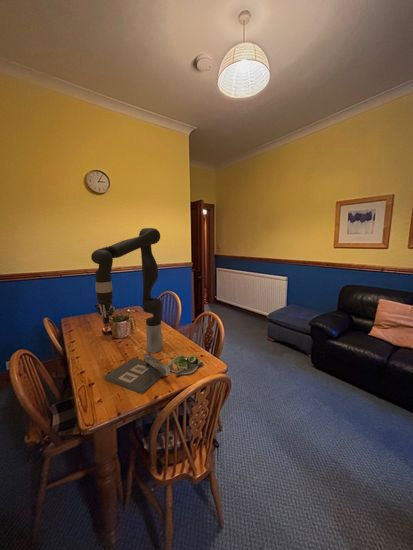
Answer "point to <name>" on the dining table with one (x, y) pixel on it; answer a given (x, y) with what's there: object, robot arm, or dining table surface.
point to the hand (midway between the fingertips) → (106, 323)
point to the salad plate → (185, 364)
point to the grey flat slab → (135, 375)
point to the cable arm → (157, 364)
